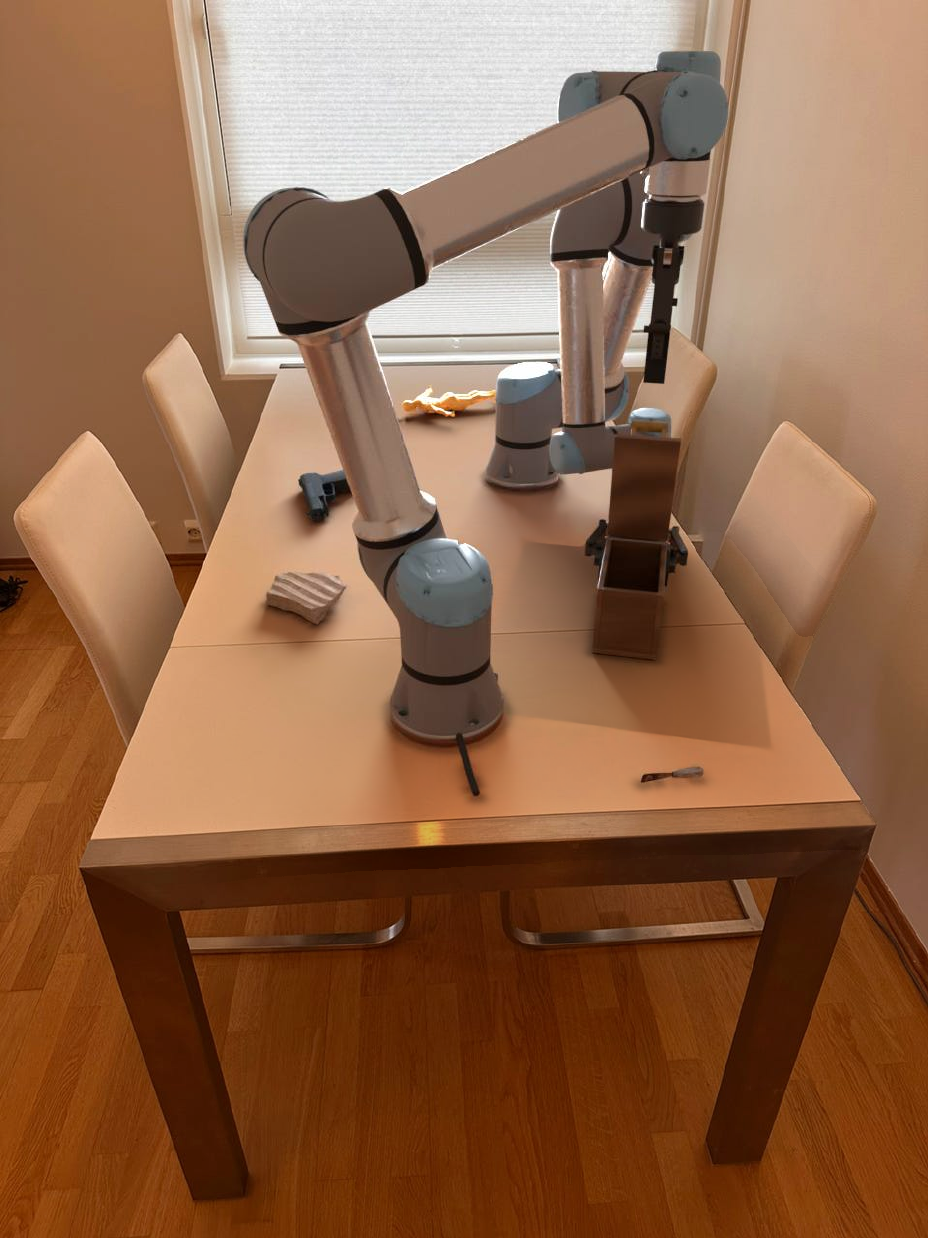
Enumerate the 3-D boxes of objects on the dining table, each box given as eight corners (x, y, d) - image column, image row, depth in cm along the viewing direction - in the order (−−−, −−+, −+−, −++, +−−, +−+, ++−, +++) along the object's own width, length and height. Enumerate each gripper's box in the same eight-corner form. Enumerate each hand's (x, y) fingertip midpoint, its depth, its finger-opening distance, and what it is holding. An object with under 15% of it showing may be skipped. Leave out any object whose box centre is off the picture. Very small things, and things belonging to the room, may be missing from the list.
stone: (356, 590, 149) (354, 577, 147) (319, 626, 139) (317, 612, 138) (289, 576, 153) (287, 563, 152) (249, 610, 144) (247, 596, 142)
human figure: (395, 413, 223) (394, 398, 221) (438, 390, 237) (438, 375, 235) (462, 429, 215) (462, 413, 213) (502, 404, 229) (503, 388, 227)
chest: (655, 660, 131) (663, 595, 125) (591, 652, 133) (597, 588, 127) (659, 602, 145) (667, 542, 140) (601, 596, 147) (607, 536, 141)
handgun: (369, 516, 174) (308, 523, 171) (354, 480, 188) (297, 486, 185) (368, 501, 172) (306, 508, 169) (353, 466, 186) (295, 472, 183)
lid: (680, 441, 127) (683, 412, 133) (614, 437, 128) (619, 407, 134) (667, 541, 139) (669, 509, 145) (607, 535, 141) (612, 504, 147)
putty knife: (703, 777, 109) (705, 767, 109) (642, 788, 108) (644, 777, 107) (700, 772, 110) (702, 762, 109) (639, 782, 109) (640, 771, 108)
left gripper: (648, 184, 122) (633, 342, 133) (638, 210, 101) (621, 394, 113) (704, 186, 121) (684, 345, 132) (706, 211, 100) (682, 397, 111)
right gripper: (700, 540, 159) (701, 603, 140) (577, 528, 163) (561, 589, 144) (706, 501, 155) (708, 561, 136) (579, 490, 159) (564, 547, 140)
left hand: (655, 368), depth 122 cm, fingers open, 13 cm apart
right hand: (632, 575), depth 140 cm, fingers closed on chest, 9 cm apart
